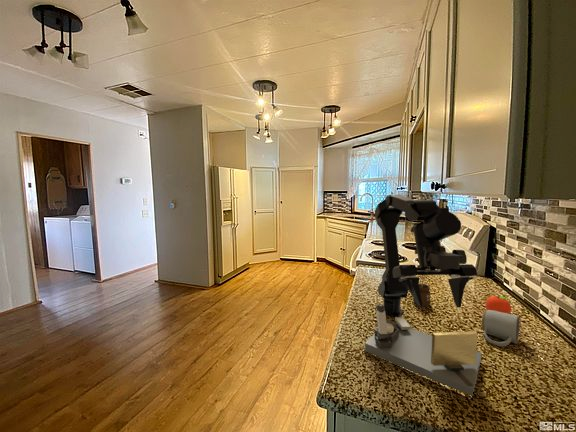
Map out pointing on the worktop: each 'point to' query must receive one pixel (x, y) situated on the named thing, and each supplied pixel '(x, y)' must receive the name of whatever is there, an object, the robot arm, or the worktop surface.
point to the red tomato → (498, 304)
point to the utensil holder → (424, 292)
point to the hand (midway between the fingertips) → (439, 307)
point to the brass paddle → (453, 349)
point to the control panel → (422, 358)
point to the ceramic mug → (500, 327)
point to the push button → (390, 329)
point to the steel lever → (382, 323)
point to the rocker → (402, 323)
